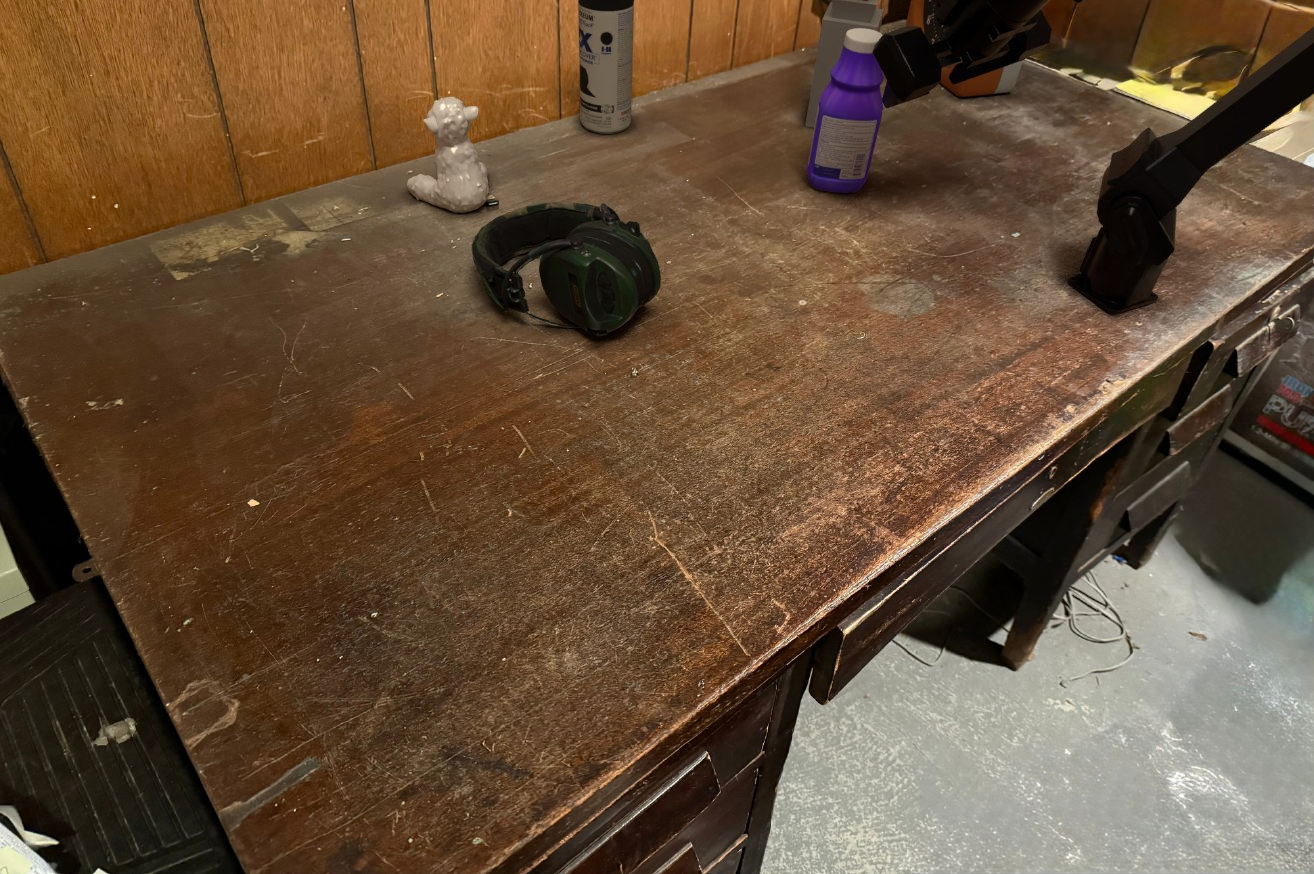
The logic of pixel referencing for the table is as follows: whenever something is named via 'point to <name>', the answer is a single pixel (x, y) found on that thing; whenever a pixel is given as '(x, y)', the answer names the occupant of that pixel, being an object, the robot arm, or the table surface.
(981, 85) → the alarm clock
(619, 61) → the spray can
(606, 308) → the headphones
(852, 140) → the bottle
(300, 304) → the table surface
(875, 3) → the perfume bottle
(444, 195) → the sitting furry creature
